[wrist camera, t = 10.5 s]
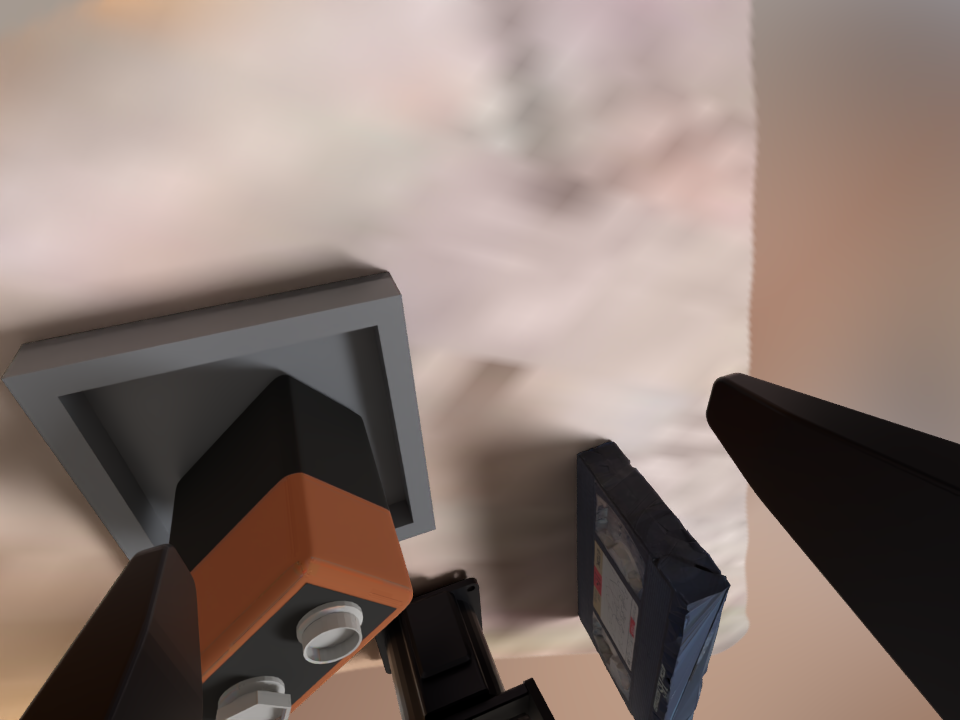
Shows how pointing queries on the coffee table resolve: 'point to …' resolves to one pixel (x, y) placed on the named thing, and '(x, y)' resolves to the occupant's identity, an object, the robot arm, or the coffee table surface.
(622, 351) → the coffee table surface
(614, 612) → the vhs cassette tape
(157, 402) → the tray
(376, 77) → the coffee table surface
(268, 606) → the battery
